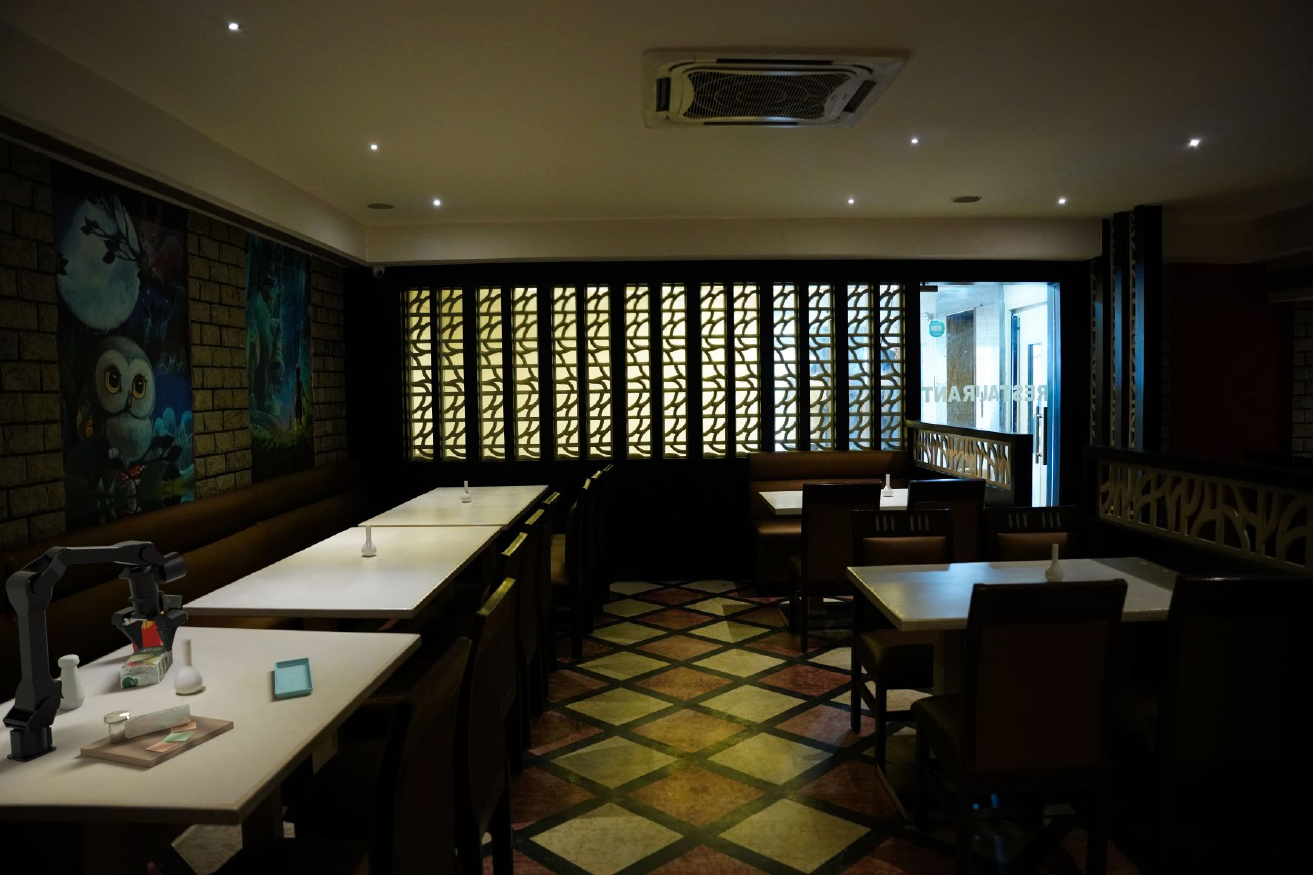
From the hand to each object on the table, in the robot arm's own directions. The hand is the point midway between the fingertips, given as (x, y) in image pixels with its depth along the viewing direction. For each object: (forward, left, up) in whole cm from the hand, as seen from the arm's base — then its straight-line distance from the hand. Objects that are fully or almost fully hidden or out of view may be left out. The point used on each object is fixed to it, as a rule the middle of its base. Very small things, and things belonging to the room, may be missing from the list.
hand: (155, 649), depth 209 cm
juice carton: (+15, +23, -14) cm, 31 cm away
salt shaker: (-8, +20, -14) cm, 26 cm away
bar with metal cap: (-17, -18, -12) cm, 28 cm away
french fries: (+30, +41, -14) cm, 53 cm away
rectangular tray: (+23, -21, -15) cm, 34 cm away
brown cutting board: (-16, -21, -14) cm, 30 cm away
